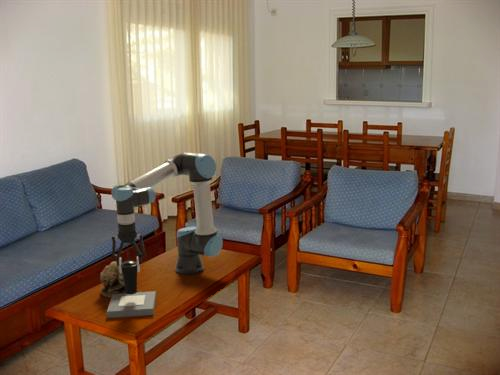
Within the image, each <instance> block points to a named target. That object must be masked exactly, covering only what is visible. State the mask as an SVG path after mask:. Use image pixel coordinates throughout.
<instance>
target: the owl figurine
mask: <svg viewBox="0 0 500 375" xmlns="http://www.w3.org/2000/svg"><path fill="white" fill-rule="evenodd" d="M99 276H100V277H99V278H100V281H101V284H102V286H103V287H104V288H101V290H100V291H99V296H100V297H102V298H104V299H108V300H111V298H112V295H113V294H121V293H126V290H125V284H124V279H123V274H122V273H120V268H119V266H117V261H111V262H110V264H108V265H105V267H104V268H103V270H102V271H101V272H100V275H99Z"/></svg>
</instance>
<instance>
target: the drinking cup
mask: <svg viewBox="0 0 500 375" xmlns="http://www.w3.org/2000/svg"><path fill="white" fill-rule="evenodd" d="M126 251H127V261H124V262H122V264H121V268H122V274H123V279H124V284H125V290H126V294H129V295H131V294H135V293H137V292H138V269H137V261H134V260H131V259H130V250H129V249H128V250H126Z"/></svg>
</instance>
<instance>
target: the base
mask: <svg viewBox="0 0 500 375" xmlns="http://www.w3.org/2000/svg"><path fill="white" fill-rule="evenodd" d="M156 292H157V291H156V290H154V291H153V290H152V291H139V292H138V291H137V293H135V294H131V295H129V294H126V293H121V294H113V295H112V298H111V299H110V301H109V303H108V307H107V310H106V318H107V319H113V318H116V319H117V318H128V317H141V316H142V317H143V316H154V314H155V306H156V300H157V293H156Z"/></svg>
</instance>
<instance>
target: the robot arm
mask: <svg viewBox="0 0 500 375" xmlns="http://www.w3.org/2000/svg"><path fill="white" fill-rule="evenodd" d="M216 171H217V163H216V161H215V159H214V157H212V156H211V155H209V154H206V153H199V152H196V153H195V152H181V153H179V154H176V155H174V156H172V157H169V158H168V159H166V160H165V161H164V162H163V163H162V164H161V165H159V166H156V167H155V168H153V169H152V170H149V171H147V172H146V173H144V174H142V175H140V176H138V177H136V178H135V179H133V180H131V181H129V182H127V183H124V184H117V185H114V187H113V188H112V189H111V197H112V199H113V200H114V201H115V204H116V206H115V207H116V215H117V216H116V217H117V223H118V224H117V230H118V231H117V232H118V233H117V234H116V235H112V236H111V241H112V248H111V250H112V251H111V258H112V259H115V260H116V262H117V266H119V268H120V273H122V268H121V264H122V263H123V262H122V257H121V253H122V251H123V247H124V244H131V246H132V247H133V249H134V251H135V254H136V255H137V256H136V262H137V273H140V271H141V266H140V265H142V263H143V259H142V257H145V256H146V249H145V246H144V245H145V244H144V239H143V238H144V237H143V236H144V234H143V233H138V232H137V230H136V228H137V227H136V222H135V221H136V215H135V208H137V207H143V206H147V205H149V204H152V203H153V202H155V200H156V192H155V190H154V187H156V186H158V185H159V184H161V183H163V182H164V181H166V180H169V179H170V178H176V177H179V176H188V179H189V182H190V183H191V184H192V188H193V200H194V208H195V220H196V226H187V227H183V228H179V229H177V231H176V245H177V259H176V262H175V269H174V270H175V272H177V273H178V274H184V275H189V274H191V275H192V274H197V273H200V272H202V271H203V270H204V263H203V260H202V258H201V256H205V257H209V258H210V257H211V258H214V257H216V256H217V255H218V254H219V253H220V252H221V250H222V248H223V242H224V241H223V237H221V236H220V235H219V234H218V229H217V228H216V227H215V226H214V216H213V205H212V204H213V203H212V195H211V194H212V192H211V182H212V180H213V177H214V176H215V174H216ZM136 238H137V239H138V240H139V241H138V242H139V246H140V248H139V247H138V245H137V242H136ZM118 239H119V240H120V241H121V242H120V245H119V248H118V251H117V250H116V249H117V240H118ZM116 251H117V254H116ZM201 270H202V271H201ZM199 271H200V272H199Z"/></svg>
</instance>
